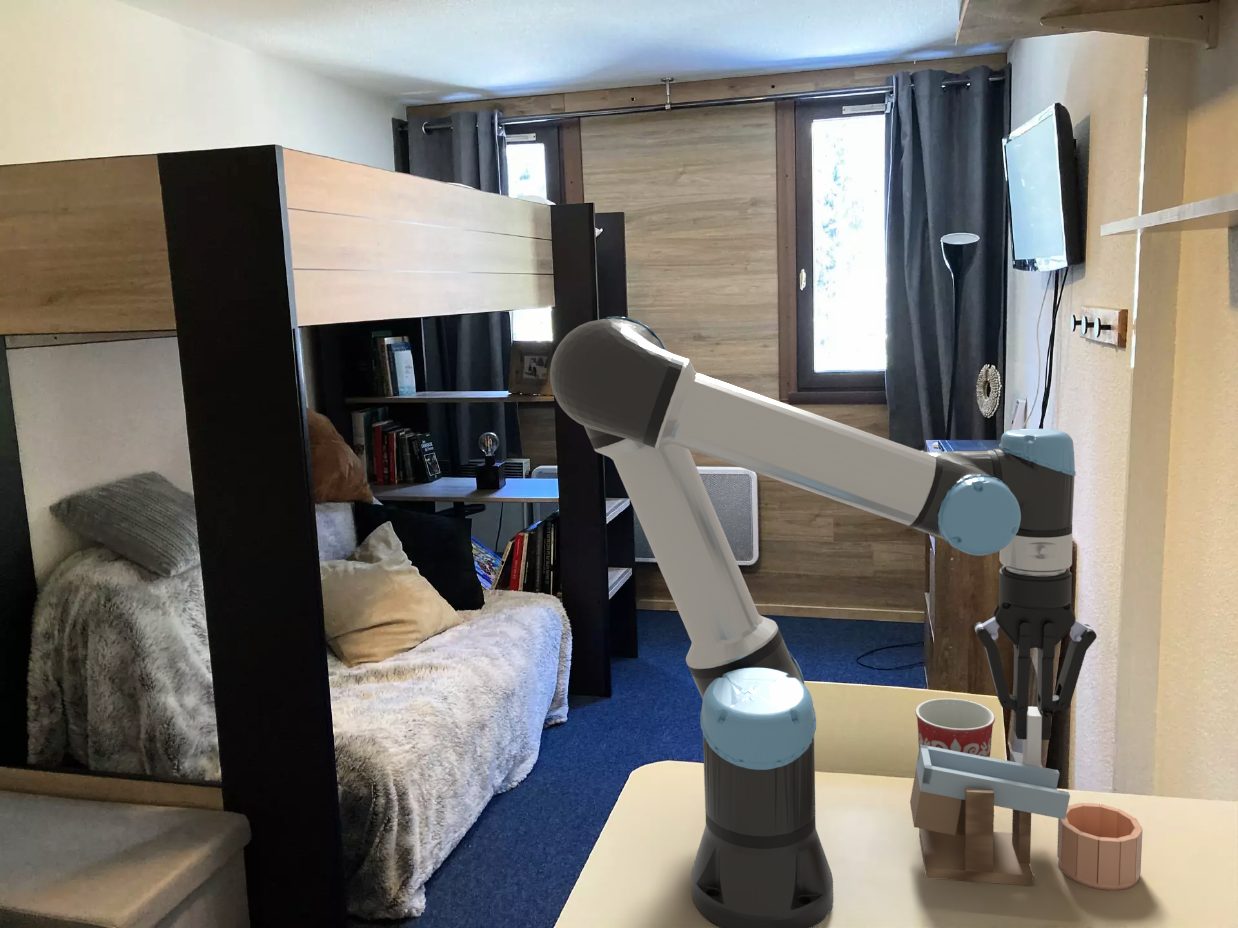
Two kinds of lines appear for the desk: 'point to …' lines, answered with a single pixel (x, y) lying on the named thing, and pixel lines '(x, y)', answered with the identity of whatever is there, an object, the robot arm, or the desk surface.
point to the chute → (954, 771)
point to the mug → (955, 725)
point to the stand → (980, 845)
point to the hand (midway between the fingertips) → (1031, 763)
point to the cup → (1100, 846)
